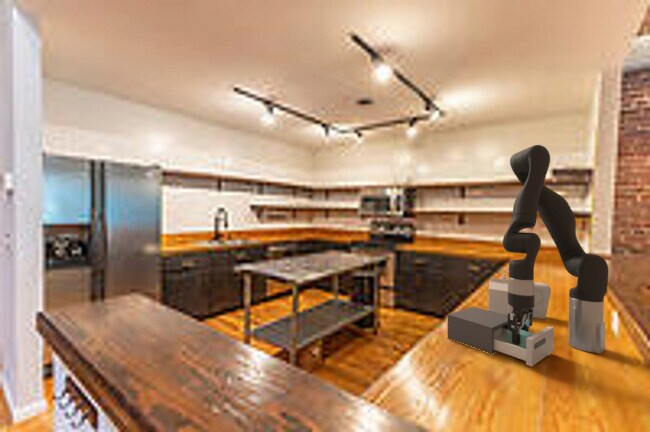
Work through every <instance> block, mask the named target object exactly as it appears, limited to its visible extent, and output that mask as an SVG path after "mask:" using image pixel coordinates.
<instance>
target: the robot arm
mask: <svg viewBox="0 0 650 432" xmlns="http://www.w3.org/2000/svg"><path fill="white" fill-rule="evenodd" d="M550 154H551V153H550V152H549V150H548V149H547V148H546V147H545V146H543V145H541V144H535V145H532V146H530V147H529V146H528V147H527V148H525V149H522V150H520V151H518V152H516V153H514V154H512V155H511V157H510V159H509V164H510V167H511V170H512V172H513V174H514V175H515V177H516V178H517V180H518V181H519V183H520V184H521V185H522V188H521V190H520V191H519V192H518V194H517V196H516V198H515V200H514V203H513V209H512V215H511V221H510V223H509V225H508V228H507V230H506V232H505V233H504V235H503V237H502V246H503V249H504V251H506V252H508V253H512V254H513V253H516V254H526V255H525V257H524V258H521V259H512V260H510V261H509V262H508V268H509V270H508V279H507V280H508V304H509V305H511V306H512V307H513V310H512V314H510V313H508V331H511V332H512V343H513V344H516V345H520V332H521V330H524V331H528V332H530V328H531V327H532V326H533V319H534V318H533V309H532V308H534V298H535V286H534V282H535V277H534V276H535V272H534V271H535V264H536V259H537V256H538V253H539V251H540V248H541V246H542V245H541V244H542V241H541V238H540V236H539V235H538V233H535V232H524V231H522V230H525V229H530V228H531V229H532V228H534V227H535V226H536V224H537V220H538V218H537V217H538V215H539V217H540V220H541V221H542V223H543V224H544V226H545V228H546V229H547V231H548V233H549V236H550V238H552V241H553V242H554V245H555V246H556V248H557V251H558V254H559V257H560V259H561V261H562V263H563V267H564V268H565V270H566V271H567V273H568V274H570V275H571V276H573V277H575V278H577V283H576V286H574V287H571V288H570V289H569V291H568V345H569V346H571V347H573V349H574V348H575V349H577V350H580V351H584V352H588V353H589V352H590V353H594V354H599V355H601V354H602V353H603V352H604V351H606V322H605V321H604V319H605V318H604V311H605V310H604V309H605V308H604V307H605V305H604V301H605V296H606V294H607V293H608V283H609V266H608V263H607V261H606V260H605V258H604V257H602V256H600V255H599V254H593V253H587V252H586V251H585V250H584V248H583V247H582V246H581V244H580V242H579V240H578V238H577V233H576V231H577V221H576V216H575V214H574V212H573V210H572V208H571V206H570V205H569V203H568V201H567V199H566V198H564V197H563V196H562V195H561V194H559V193H558V192H556V191H554V190H553V189H551V188H550V187H547V186H546V185H545V181H546V177H547V174H548V171H549V167H550V163H551V155H550ZM521 231H522V232H521ZM511 325H512V326H511ZM514 327H515V329H514Z"/></svg>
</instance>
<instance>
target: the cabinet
mask: <svg viewBox="0 0 650 432" xmlns="http://www.w3.org/2000/svg"><path fill="white" fill-rule="evenodd" d="M511 326H512V325H511ZM499 327H504V328H507V329H508V315H504V314H500V313H496V312H492V311H488V309H483V308H480V307H476V306H470V307H468V308H464V309H460V310H458V311H454V312H452V313H448V314H447V339H448V338H450V339H452V340H451V341H453V340H455V341H454V342H456V341H458V342H461V343H464V344H467V345H469V346H472V347H475V348H477V349H480V350H482V351H485V352H488V353H490V354H489V355H491V354H493V353H494V354H496V353H498V352H497V350H494V330H495V329H497V328H499ZM514 328H515V327H514ZM450 339H449V340H450ZM458 342H457V343H458ZM461 343H460V344H461ZM464 344H463V345H464ZM469 346H468V347H469ZM472 347H471V348H472ZM477 349H476V350H477ZM480 350H479V351H480ZM482 351H481V352H482ZM485 352H484V353H485ZM495 352H496V353H495ZM488 353H487V354H488ZM494 354H493V355H494Z"/></svg>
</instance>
